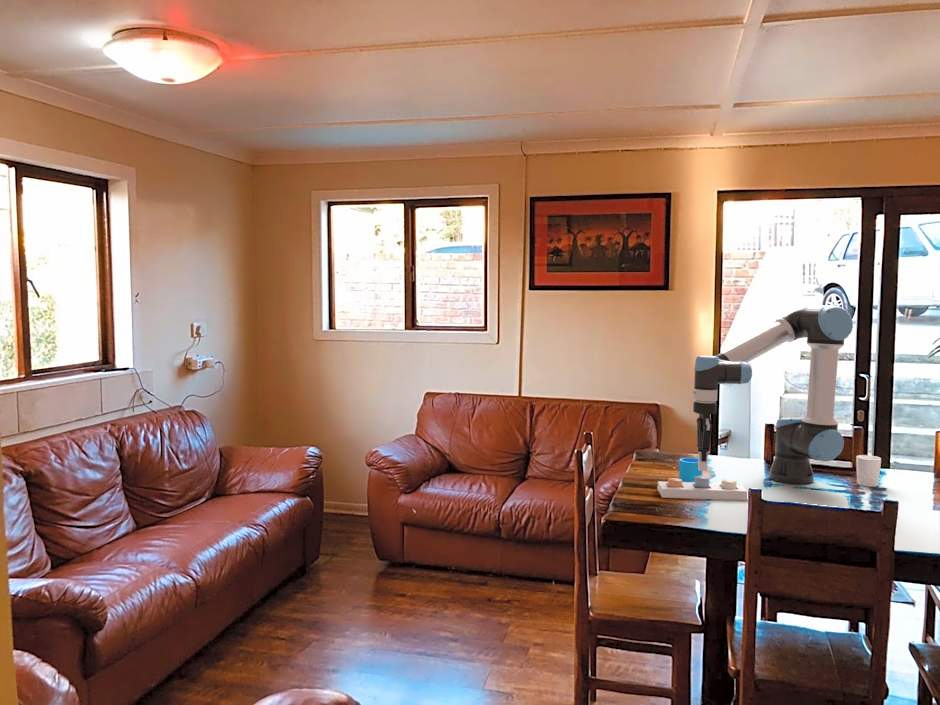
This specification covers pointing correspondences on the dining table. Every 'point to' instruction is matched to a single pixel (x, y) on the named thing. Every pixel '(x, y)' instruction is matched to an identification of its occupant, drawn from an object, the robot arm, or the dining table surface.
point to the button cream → (728, 484)
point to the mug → (688, 469)
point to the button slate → (701, 482)
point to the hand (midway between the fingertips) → (702, 470)
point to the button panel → (702, 491)
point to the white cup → (868, 470)
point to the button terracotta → (675, 482)
